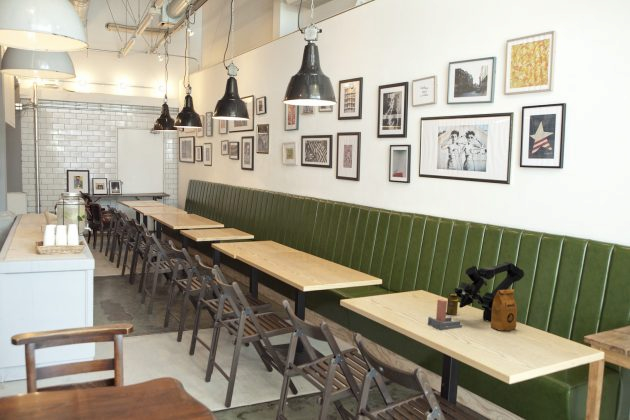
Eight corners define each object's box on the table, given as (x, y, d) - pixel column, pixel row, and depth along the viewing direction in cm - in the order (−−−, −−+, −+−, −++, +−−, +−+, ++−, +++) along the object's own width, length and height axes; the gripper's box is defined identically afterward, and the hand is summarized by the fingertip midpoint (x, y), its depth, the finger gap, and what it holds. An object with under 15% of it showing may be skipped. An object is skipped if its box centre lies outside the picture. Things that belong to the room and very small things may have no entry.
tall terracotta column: (439, 322, 293) (441, 298, 291) (446, 325, 288) (447, 301, 287) (434, 322, 291) (436, 299, 290) (441, 325, 286) (443, 301, 285)
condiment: (459, 314, 316) (461, 294, 315) (452, 317, 310) (453, 296, 309) (449, 311, 321) (450, 292, 320) (441, 314, 315) (442, 294, 314)
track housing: (448, 321, 299) (449, 314, 299) (461, 327, 290) (462, 319, 290) (427, 324, 292) (428, 317, 292) (440, 330, 283) (441, 322, 283)
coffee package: (518, 331, 289) (522, 291, 287) (500, 332, 284) (503, 292, 283) (506, 325, 298) (509, 287, 296) (487, 326, 294) (491, 287, 292)
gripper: (457, 273, 304) (441, 294, 300) (481, 280, 288) (465, 302, 284) (466, 286, 309) (450, 306, 304) (491, 293, 292) (474, 315, 288)
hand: (459, 307), depth 295 cm, fingers closed
